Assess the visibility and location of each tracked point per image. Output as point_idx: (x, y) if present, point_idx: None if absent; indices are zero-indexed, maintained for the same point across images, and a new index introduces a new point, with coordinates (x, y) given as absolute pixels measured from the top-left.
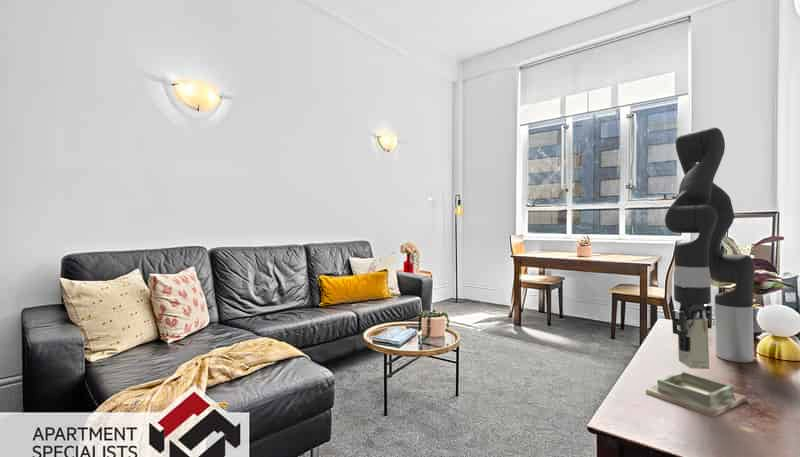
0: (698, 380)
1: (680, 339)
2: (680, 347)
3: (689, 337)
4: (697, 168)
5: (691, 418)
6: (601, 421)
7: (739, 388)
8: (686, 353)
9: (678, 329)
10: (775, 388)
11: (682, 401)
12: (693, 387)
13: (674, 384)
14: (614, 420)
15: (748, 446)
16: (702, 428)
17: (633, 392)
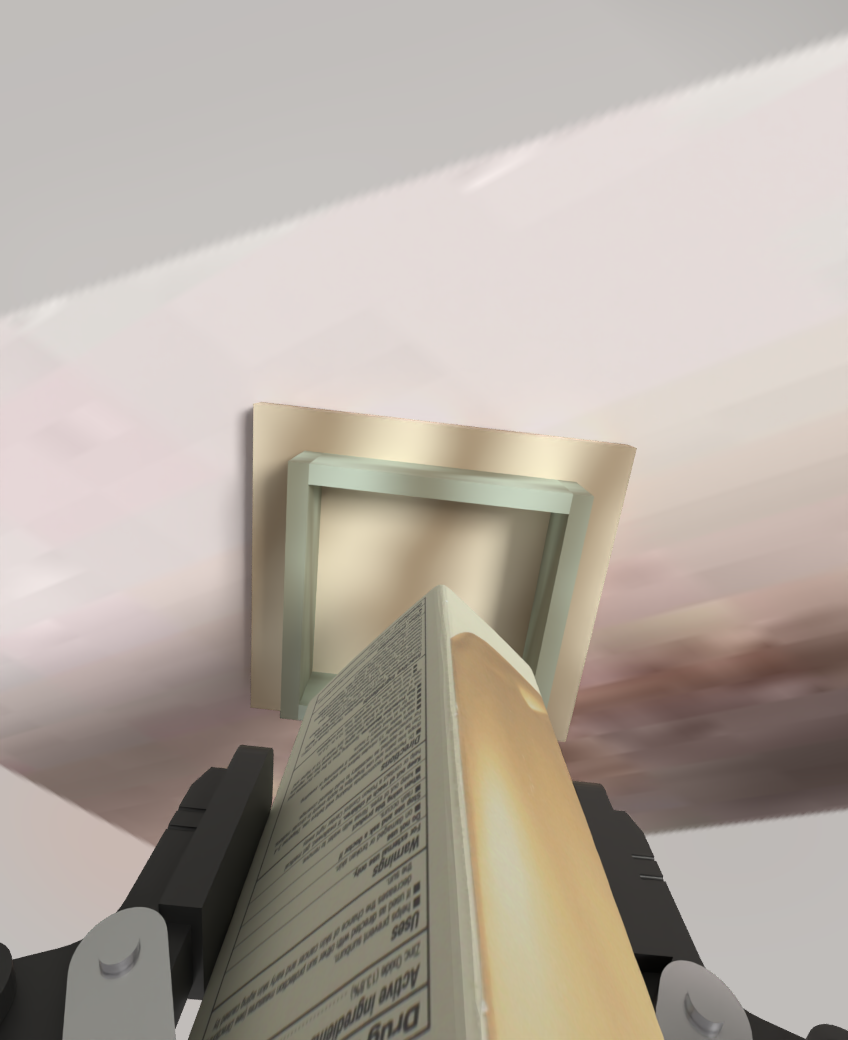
0: (546, 587)
1: (140, 884)
2: (202, 784)
3: (189, 994)
4: None
5: (170, 649)
6: None
7: (712, 674)
8: (320, 742)
9: (64, 1036)
10: (827, 764)
11: (258, 592)
12: (500, 561)
13: (303, 556)
14: None
15: (134, 816)
16: (122, 700)
17: (206, 350)
